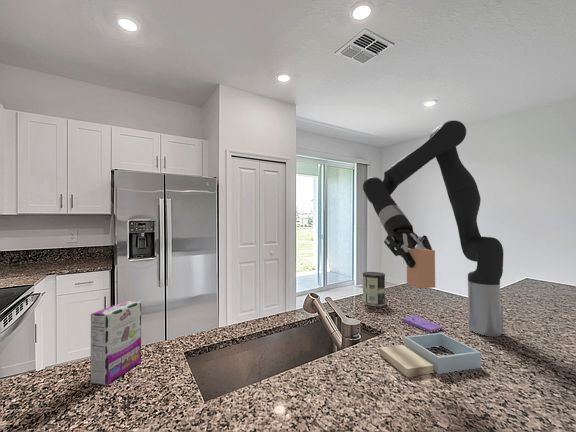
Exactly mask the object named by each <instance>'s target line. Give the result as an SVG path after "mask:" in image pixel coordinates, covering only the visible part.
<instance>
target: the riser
mask: <svg viewBox="0 0 576 432" xmlns="http://www.w3.org/2000/svg"><path fill="white" fill-rule="evenodd" d="M379 355H380V356H381V357H382V358H383V359H385V361H387V362H388V363H389V364H391V366H393V367H394V368H395V369H397V370H398V372H400V373H401V374H402V375H404V376H405V377H406V378H411V377H418V375H419V376H425V374H426V375H431V374H430V373H433V374H434V371H433V365H432V364H431V363H429V362H428V361H426V360H425V359H423V358H422V357H420V356H419V355H417V354H416V353H414V352H413V351H411V350H410V349H408V348H407V347H405V346H404V344H399V345H397V344H396V345H388V346H381V347H379Z"/></svg>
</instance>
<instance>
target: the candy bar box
mask: <svg viewBox="0 0 576 432" xmlns="http://www.w3.org/2000/svg"><path fill="white" fill-rule="evenodd" d="M141 362H142V301H137V300H126V301H123V302H119V303H117V304H113V305H111V306H108V307H105V308H104V309H100V310H99V311H95V312H92V313H90V369H89V371H90V376H89V377H90V379H89V381H90V384H93V385H101V386H108V385H110V384H111V383H113V382H114V381H115V380H117V379H119V378H120V377H122V376H123V375H125V374H126V373H127V372H128V371H130V370H132V369H134V367H136V366H137V365H139V364H140V363H141Z"/></svg>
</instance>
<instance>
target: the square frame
mask: <svg viewBox="0 0 576 432" xmlns="http://www.w3.org/2000/svg"><path fill="white" fill-rule="evenodd" d="M403 338H404V339H403V343H404V344H403V345H404V346H405V347H407V348H408V349H410V350H411V351H413V352H414V353H416V354H417V355H419V356H420V357H422V358H423V359H425V360H426V361H428V362H429V363H431V364H432V365H433V370H434V371H433V372H435V373H436V372H437V373H436V374H437V375H441V374H443V373H444V374H448V373H449V372H450V373H455V372H454V371H457V372H462V370H464V371H469V369H470V370H475V369H482V352H481V351H479V350H477V349H475V348H473V347H472V346H469V345H467V344H465V343H463V342H461V341H459V340H457V339H454V338H453V337H451V336H450V335H447V334H445V333H443V332H434V333H425V334H419V335H418V334H417V335H409V336H403ZM436 346H442V347H444V348H446V349H448V350H450V351H452V352H453V353H455V354H453V353H452V354H447V355H440V356H439V355H437V354H435V353H433V352H432V351H430V349H432V348H431V347H436ZM442 347H441V348H442ZM426 348H429V350H428V349H426ZM444 348H443V349H444ZM446 349H445V350H446ZM448 350H447V351H448ZM450 351H449V352H450Z"/></svg>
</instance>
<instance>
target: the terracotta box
mask: <svg viewBox="0 0 576 432" xmlns="http://www.w3.org/2000/svg"><path fill="white" fill-rule="evenodd" d="M408 253H410V254H411V256H412V258H413V259H414V261H415V263H416V264H415V266H414V267H413V268H410V267H409V266H408V265H407V264H406V285H408V286H411V287H414V288H417V289H430V288H431V289H432V288H433V289H434V288H436V250H435V249H432V250H428V249H410V248H408Z"/></svg>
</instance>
